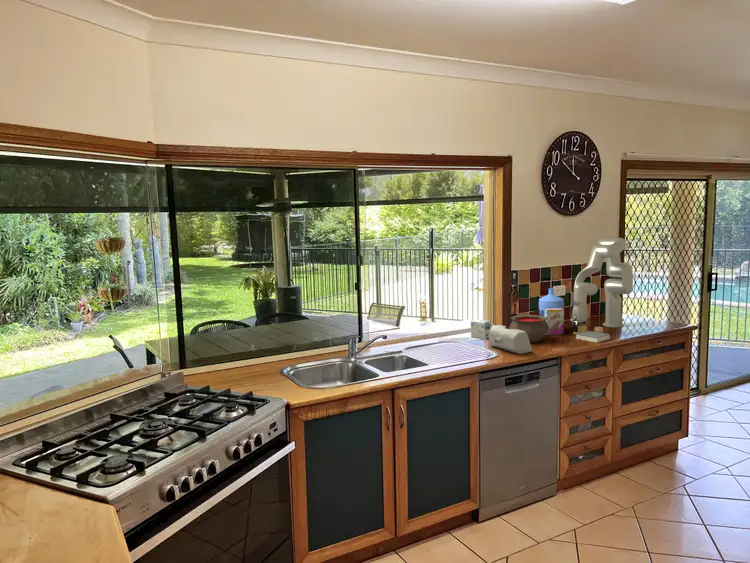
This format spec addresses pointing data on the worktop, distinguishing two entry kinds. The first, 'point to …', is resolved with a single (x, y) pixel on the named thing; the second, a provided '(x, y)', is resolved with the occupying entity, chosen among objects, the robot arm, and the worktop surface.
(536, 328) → the brown pot
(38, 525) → the worktop surface
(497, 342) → the tank
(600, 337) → the podium
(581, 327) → the carton
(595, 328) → the beige egg shape
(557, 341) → the worktop surface
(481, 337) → the light bulb box
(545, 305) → the water jug
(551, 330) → the candy bar box
